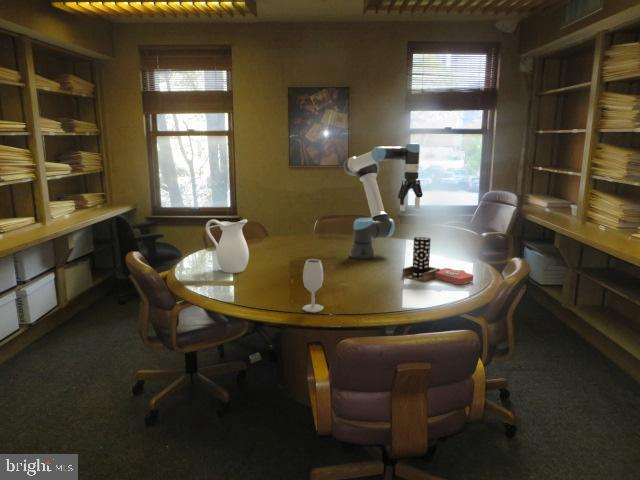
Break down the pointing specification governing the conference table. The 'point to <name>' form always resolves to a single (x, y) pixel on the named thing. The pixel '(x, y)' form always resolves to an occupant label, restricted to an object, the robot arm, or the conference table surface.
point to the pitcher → (231, 246)
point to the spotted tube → (421, 256)
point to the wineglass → (313, 282)
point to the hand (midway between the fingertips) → (409, 209)
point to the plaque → (454, 276)
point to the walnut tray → (425, 276)
